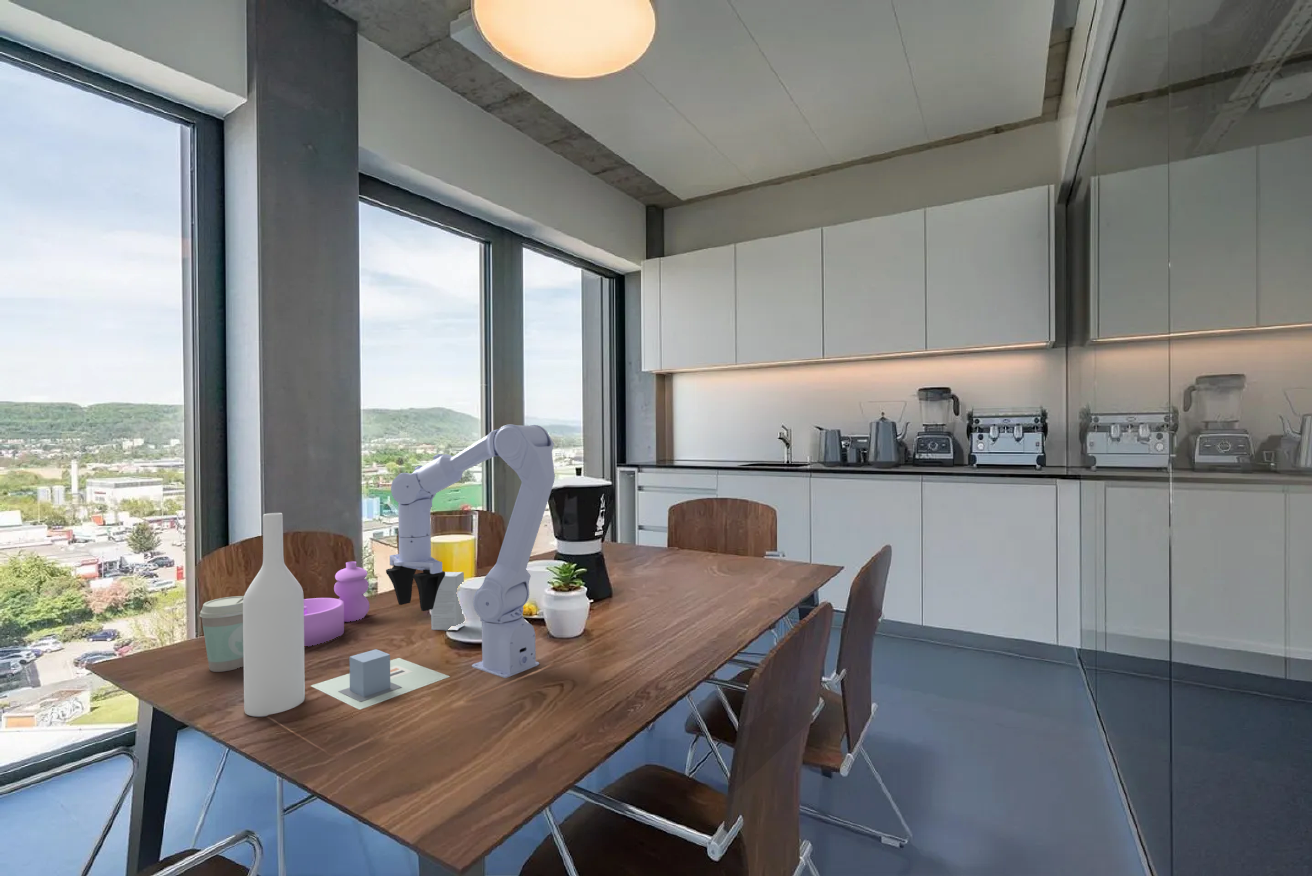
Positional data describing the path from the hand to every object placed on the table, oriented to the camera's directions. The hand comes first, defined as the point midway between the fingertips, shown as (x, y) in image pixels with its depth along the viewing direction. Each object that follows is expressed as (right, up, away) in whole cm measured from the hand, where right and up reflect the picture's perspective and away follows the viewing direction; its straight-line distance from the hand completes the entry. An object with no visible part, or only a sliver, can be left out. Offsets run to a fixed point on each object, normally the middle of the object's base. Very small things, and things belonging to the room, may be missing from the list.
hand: (415, 606), depth 119 cm
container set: (-27, -10, +17) cm, 34 cm away
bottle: (-14, -10, -22) cm, 27 cm away
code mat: (-1, -9, -13) cm, 16 cm away
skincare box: (0, -10, +17) cm, 20 cm away
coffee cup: (-33, -10, -4) cm, 35 cm away
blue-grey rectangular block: (-1, -9, -17) cm, 19 cm away
